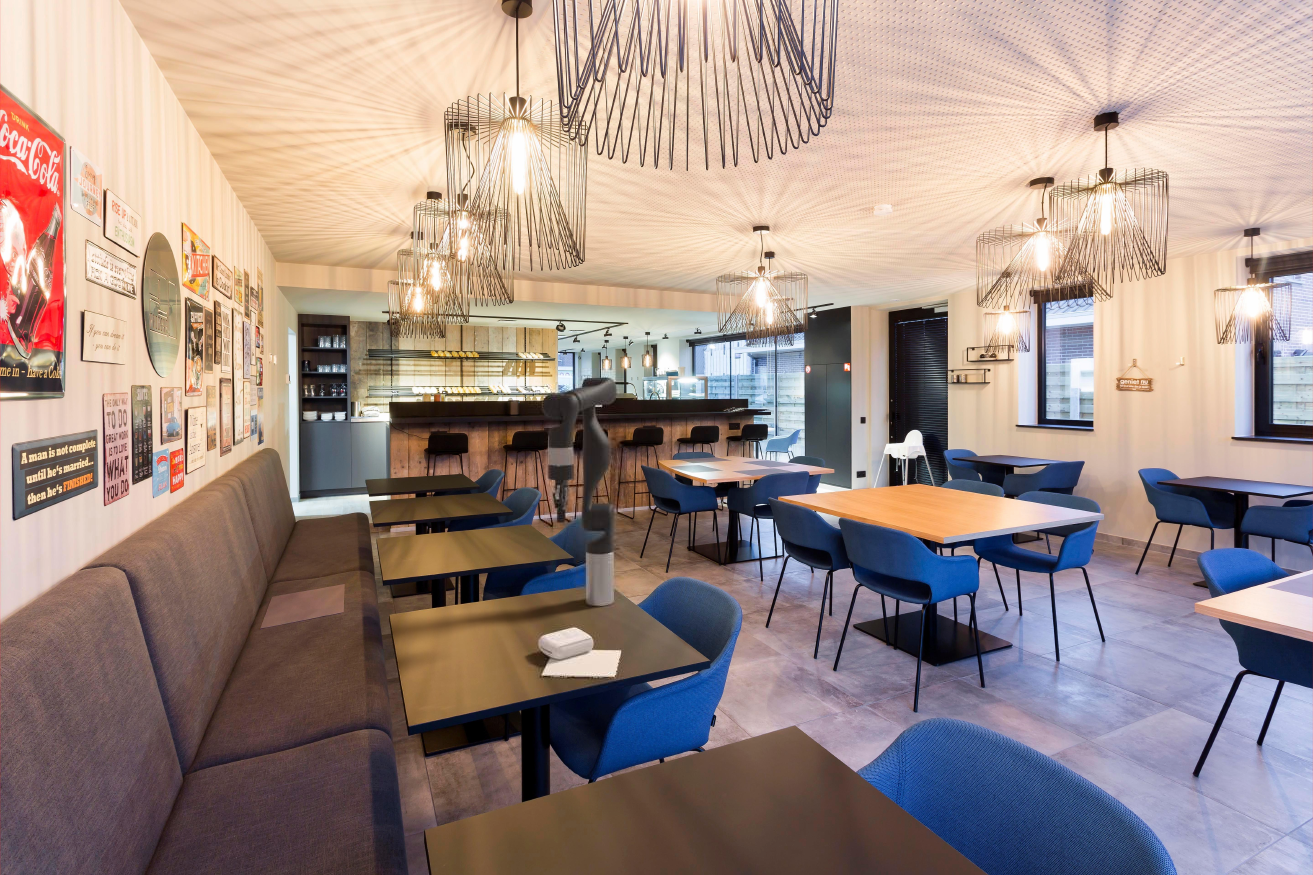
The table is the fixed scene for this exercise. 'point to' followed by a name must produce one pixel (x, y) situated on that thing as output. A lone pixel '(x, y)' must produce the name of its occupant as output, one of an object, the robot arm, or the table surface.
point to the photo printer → (565, 643)
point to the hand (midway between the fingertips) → (561, 521)
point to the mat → (585, 664)
